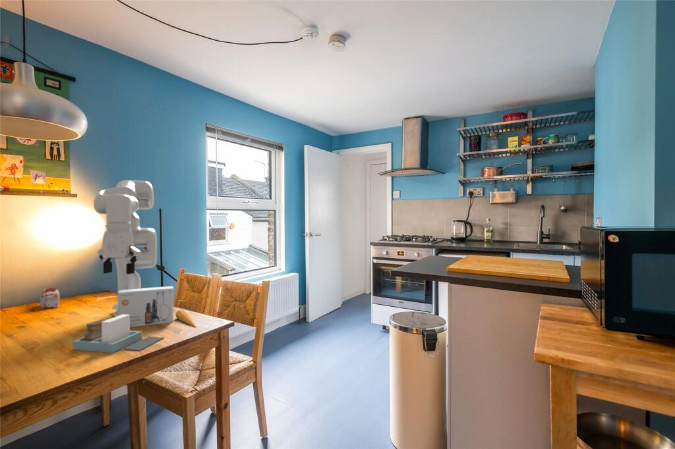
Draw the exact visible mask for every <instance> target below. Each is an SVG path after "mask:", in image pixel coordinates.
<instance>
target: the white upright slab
mask: <svg viewBox="0 0 675 449" xmlns="http://www.w3.org/2000/svg"><path fill="white" fill-rule="evenodd" d="M130 331H131V327H130V315H125V314H122V315H119V316H114V317H110V318H108V320H105V321H102V342H106V343H114V342H116V341H119V340H121V339H123V338H125V337H128V336H130Z"/></svg>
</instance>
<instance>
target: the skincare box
mask: <svg viewBox="0 0 675 449" xmlns="http://www.w3.org/2000/svg"><path fill="white" fill-rule="evenodd" d="M117 304H118V316H119V315H122V314H125V315H130V328H135V327H142V326H150V325H151V326H153V325H160V324H169V323H173V322H174V286H172V285H168V286H158V287H157V286H156V287H155V286H153V287H142V288H141V289H127V290H119V292H118V291H117Z"/></svg>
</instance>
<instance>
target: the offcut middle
mask: <svg viewBox="0 0 675 449" xmlns="http://www.w3.org/2000/svg"><path fill="white" fill-rule="evenodd" d="M83 337H84V340H95V339H98V338H100V337H102V329H100V330H98V331H95V332H94V331H87V330H85V331H84V336H83Z"/></svg>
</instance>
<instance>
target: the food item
mask: <svg viewBox="0 0 675 449" xmlns="http://www.w3.org/2000/svg"><path fill="white" fill-rule="evenodd" d="M39 294H40V295H39V306H40V307H41V308H42V309H43V310H50V309H49V308H51V309H57V308H59V305H60V300H61V296H60V292H59V289H57V288H53V287H49V288H47V289H45V288H43V291H42V294H41V293H39Z"/></svg>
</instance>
